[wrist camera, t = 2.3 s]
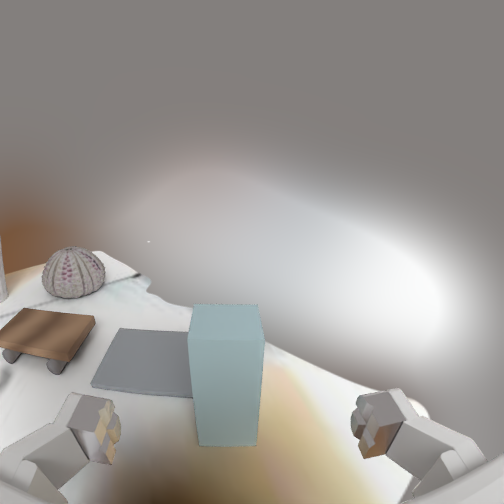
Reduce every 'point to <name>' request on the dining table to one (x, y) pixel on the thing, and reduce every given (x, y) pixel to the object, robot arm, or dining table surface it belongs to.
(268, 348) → the dining table surface
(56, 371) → the walnut slab on rollers
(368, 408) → the robot arm
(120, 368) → the grey tile
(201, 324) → the teal-grey block
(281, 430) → the dining table surface
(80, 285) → the sea urchin shell
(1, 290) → the cup
